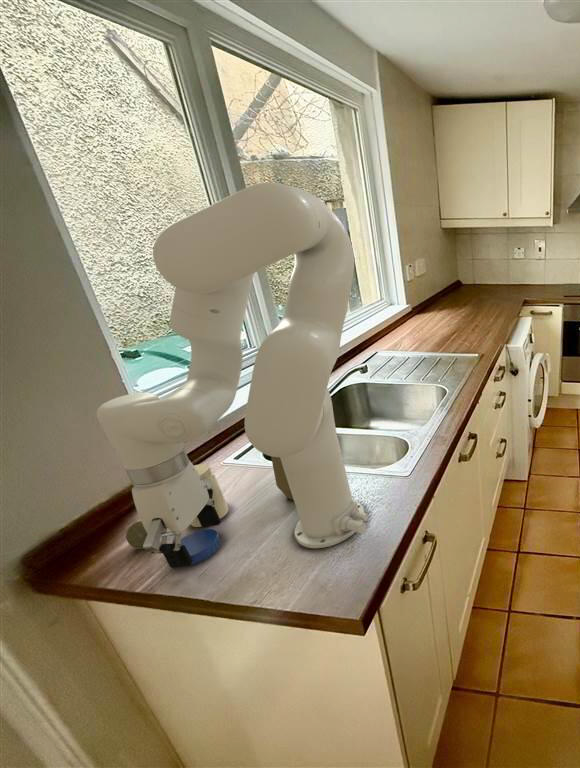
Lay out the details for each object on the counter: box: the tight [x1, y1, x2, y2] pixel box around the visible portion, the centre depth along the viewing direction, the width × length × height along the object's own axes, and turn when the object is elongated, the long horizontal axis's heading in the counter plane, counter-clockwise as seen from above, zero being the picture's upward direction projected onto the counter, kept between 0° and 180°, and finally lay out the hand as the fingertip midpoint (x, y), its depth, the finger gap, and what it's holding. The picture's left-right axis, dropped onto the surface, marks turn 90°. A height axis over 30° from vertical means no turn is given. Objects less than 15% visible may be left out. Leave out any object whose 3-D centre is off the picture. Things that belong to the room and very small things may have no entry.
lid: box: [181, 528, 222, 566], centre depth 71 cm, size 7×7×2 cm
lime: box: [125, 520, 147, 550], centre depth 73 cm, size 4×5×5 cm
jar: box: [190, 463, 229, 528], centre depth 78 cm, size 6×6×11 cm
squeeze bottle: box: [270, 456, 294, 501], centre depth 83 cm, size 8×8×18 cm
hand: (198, 543), depth 71 cm, fingers open, 9 cm apart
